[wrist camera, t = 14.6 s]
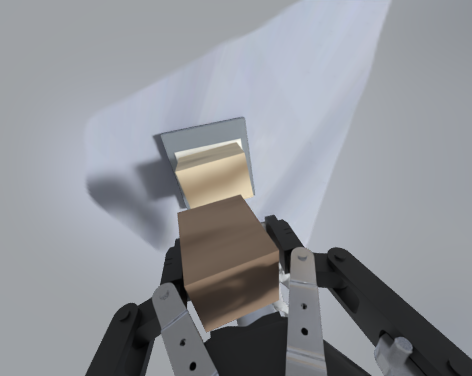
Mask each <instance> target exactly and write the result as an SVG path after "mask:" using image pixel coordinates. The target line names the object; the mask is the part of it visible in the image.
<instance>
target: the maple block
mask: <svg viewBox="0 0 472 376" xmlns="http://www.w3.org/2000/svg"><path fill="white" fill-rule="evenodd" d="M175 173H176V175H177V177H178V180H179V182H180V185H181V187H182V189H183V192H184V194H185V196H186V199H187V201H188V203H189V206H190V208H191V209H192V208H196V207H199V206H203V205H206V204H209V203H213V202H216V201H220V200H223V199H226V198H230V197H233V196H237V195H240V194H241V196H242V197H243V199H247V198H250V197H254V196H253V191H252V186H251V181H250V176H249V172H248V167H247V162H246V157H245V153H244V151H243V150H242V149H241V147H240V146H239V145H238V143H237V142H235V143H231V144H228V145H224V146H220V147H217V148H213V149H209V150H206V151H202V152H199V153H195V154H191V155H188V156H184V157H180V158H179V160H178V164H177V167H176V171H175Z"/></svg>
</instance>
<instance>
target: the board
mask: <svg viewBox="0 0 472 376" xmlns="http://www.w3.org/2000/svg"><path fill="white" fill-rule="evenodd" d="M160 136H161V138H162V141H163V144H164V147H165V149H166V152H167V155H168V158H169V161H170V163H171V166H172V169H173V172H174V174H175V177H176V180H177V183H178V185H179V188H180V191H181V194H182V196H183V199H184V202H185V205H186V207H187V210H189V209H191V208H190V206H189V203H188V201H187V199H186V196H185V194H184V192H183V189H182V187H181V185H180V182H179V180H178V177H177V175H176V173H175V171H176V167H177V164H178V160H179V158H180V157H184V156H188V155H191V154H195V153H199V152H202V151H206V150H209V149H213V148H217V147H220V146H224V145H228V144H231V143H235V142H237V143H238V145H239V146H240V147H241V149H242V150H243V151H244V153H245V157H246V162H247V167H248V172H249V176H250V181H251V186H252V191H253V196H254V195H255V190H254V182H253V175H252V167H251V160H250V152H249V145H248V138H247V130H246V123H245V118H244V117H240V118H235V119H230V120H225V121H220V122H215V123H210V124H205V125H200V126H196V127H191V128H186V129H181V130H176V131H171V132H166V133H162V134H161V135H160Z"/></svg>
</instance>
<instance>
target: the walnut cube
mask: <svg viewBox="0 0 472 376" xmlns="http://www.w3.org/2000/svg"><path fill="white" fill-rule="evenodd" d="M177 214H178V224H179V235H180V246H181V257H182V267H183V278H184V287H185V289H186V291H187V293H188V295H189V297H190V299H191V301H192V303H193V306H194V308H195V310H196V312H197V314H198V316H199V318H200V320H201V322H202V325H203V327H204V329H205V331H206V332H209V331H211V330H213V329H215V328H218V327H220V326H222V325H224V324H227V323H229V322H231V321H233V320H235V319H238V318H240V317H242V316H245V315H247V314H249V313H251V312H254V311H256V310H258V309H260V308H263V307H265V306H267V305H269V304H272V303H274V302H276V301H278V300H279V250H278V248H277V247H276V245H275V244H274V242H273V241H272V239H271V238H270V236H269V235H268V234H267V232H266V231H265V229H264V228H263V226H262V225H261V223H260V222H259V220H258V219H257V218H256V216H255V215H254V213H253V212H252V210H251V209H250V207H249V206H248V204H247V203H246V201H245V200H244V199H243V197H242V196H241V194H240V195H237V196H233V197H230V198H226V199H223V200H220V201H216V202H213V203H209V204H206V205H203V206H199V207H196V208H192V209H189V210H185V211H182V212H179V213H177Z"/></svg>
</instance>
